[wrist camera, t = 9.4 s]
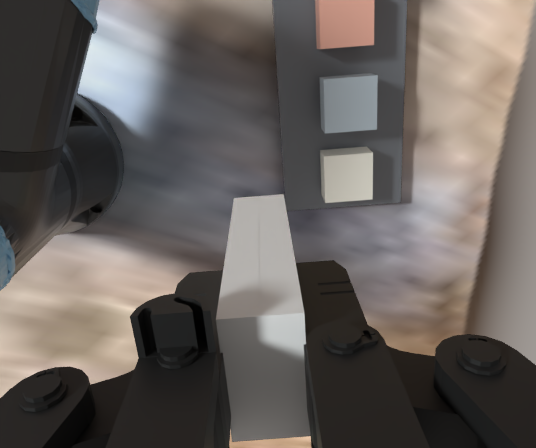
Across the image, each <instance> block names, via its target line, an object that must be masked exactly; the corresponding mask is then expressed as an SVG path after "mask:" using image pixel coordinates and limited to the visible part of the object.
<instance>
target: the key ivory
mask: <svg viewBox="0 0 536 448" xmlns="http://www.w3.org/2000/svg"><path fill="white" fill-rule="evenodd" d="M320 164H321V194H322V197H323V199H324V201H325V203H333V202H346V201H358V200H371V199H373V152H372V151H371V150H370V149H369V148H368V147H353V148H340V149H327V150H320Z"/></svg>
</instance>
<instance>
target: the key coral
mask: <svg viewBox="0 0 536 448" xmlns="http://www.w3.org/2000/svg"><path fill="white" fill-rule="evenodd" d="M315 14H316V44H317V49H329V48H342V47H354V46H367V45H374V0H315Z"/></svg>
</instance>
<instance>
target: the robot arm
mask: <svg viewBox="0 0 536 448" xmlns="http://www.w3.org/2000/svg"><path fill="white" fill-rule="evenodd" d="M98 5H99V0H0V291H1V289H3V288H4V287H5V286H7V284H8V283H9V282H10V280H11V278H12V277H13V276H14V275H15V274H16V273H17V272H18V271H19V270H20V269H21V268H22V267H23V266H24V265H25V264H26V263H27V262H28V261H29V260H30V259H31V258H32V257H33V256H34V255H35V254H36V253H37V252H39V251H40V250H41V249H42V248H43V247H44V246H45V245H46V244H47V243H48V242H49V241H50V240H51V239H52V238H53V237H54V236H56V235H61V234H66V233H70V232H74V231H77V230H80V229H82V228H84V227H86V226H88V225H90V224H91V223H93V222H94V221H95V220H97V219H98V218H99V217H100V216H101V215H102V214H103V213H104V212H105V211H106V210H107V209H108V208H109V207H110V205H111V204H112V203H113V201H114V200H115V198H116V196H117V194H118V192H119V190H120V187H121V184H122V179H123V171H124V164H123V155H122V150H121V147H120V143H119V141H118V138H117V136H116V134H115V132H114V130H113V128H112V127H111V125H110V124H109V122H108V121H107V120H106V118H105V117H104V116H103V115H102V113H101V112H100V111H99V110H98V109H97V108H96V107H94V106H93V105H92V104H91V103H90V102H88V101H87V100H85V99H84V98H83V97H81V96H79V95H77V92H78V88H79V84H80V80H81V76H82V72H83V68H84V64H85V60H86V55H87V51H88V47H89V43H90V39H91V35H92V33H96V31H97V21H96V15H97V10H98ZM130 319H131V324H132V328H133V333H134V338H135V342H136V347H137V352H138V356H139V359H138V362H137V364H136V367H135V369H134V370H132V371H131V372H129V373H126V374H124V375H121V376H118V377H115V378H112V379H109V380H105V381H102V382H98V383H95V384H91V385H90V382H89V379H88V376H87V375H86V374H85V373H84V372H83V371H82V370H80V369H76V368H73V367H55V368H51V369H48V370H43V371H40V372H38V373H36V374H34V375H32V376H30V377H27V378H25V379H23V380H22V381H20V382H19V383H18V384H17V385H15V386H14V387H13V388H11V389H10V390H9V391H8V392H7V393H6V394H5V395H4V396H3V397H1V398H0V448H229V439H230V428H231V436H232V442H236V441H249V440H263V439H276V438H290V437H303V436H311V447H312V448H536V365H535V364H533V363H532V362H531V361H530V360H528V359H527V358H526V357H524V356H523V355H522V354H521V353H519V352H518V351H517V350H515V349H514V348H512V347H510V346H508V345H507V344H505V343H503V342H501V341H498V340H495V339H492V338H489V337H486V336H479V335H471V334H467V335H457V336H452V337H450V338H447V339H445V340H443V341H442V342H441V343H440V344H439V345H438V346H437V348H436V353H435V356H428V355H421V354H414V353H409V352H404V351H399V350H397V349H394V348H391V347H389V346H387V345H386V343H385V341H384V339H383V337H382V336H381V335H380V334H379V332H378V331H377V330H375V329H374V328H372V327H370V326H368V325H367V322H366V319H365V317H364V314H363V312H362V309H361V307H360V304H359V302H358V299H357V297H356V294H355V293H354V289H353V286H352V284H351V283H350V279H349V276H348V274H347V271H346V269H345V268H343V267H342V266H341V265H339V264H338V263H336V262H335V261H334V260H332V261H319V262H306V263H296V262H295V256H294V251H293V245H292V239H291V234H290V228H289V222H288V217H287V211H286V205H285V199H284V194H280V195H267V196H254V197H241V198H234V201H233V208H232V215H231V221H230V228H229V235H228V242H227V248H226V255H225V262H224V268H223V270H221V271H208V272H195V273H189V274H188V275H187V276H186V277H185V278H184V279H183V280H181V281H180V282H179V283H178V285H177V288H176V291H175V294H169V295H163V296H160V297H157V298H155V299H152V300H149V301H147V302H146V303H144V304H142V305H141V306H139V307H138V308H136V310H135V311H134V312H133V314H132V315H131V316H130Z"/></svg>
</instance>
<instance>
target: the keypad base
mask: <svg viewBox="0 0 536 448" xmlns="http://www.w3.org/2000/svg"><path fill="white" fill-rule="evenodd" d="M272 6H273V22H274V37H275V53H276V69H277V84H278V100H279V115H280V131H281V147H282V162H283V178H284V194H285V205H286V211H296V210H309V209H321V208H334V207H347V206H360V205H373V204H386V203H399V202H401V174H402V144H403V113H404V83H405V52H406V22H407V0H374V45H367V46H354V47H342V48H329V49H317V44H316V14H315V0H272ZM367 73H371V74H375V75H378V83H377V130H364V131H351V132H339V133H326V134H325V133H324V131H323V130H322V129H321V110H320V79H319V77H329V76H341V75H354V74H367ZM353 147H368V148H369V149H370V150H371V151H372V152H373V199H371V200H358V201H346V202H333V203H325V201H324V199H323V197H322V194H321V164H320V150H327V149H340V148H353Z"/></svg>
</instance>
